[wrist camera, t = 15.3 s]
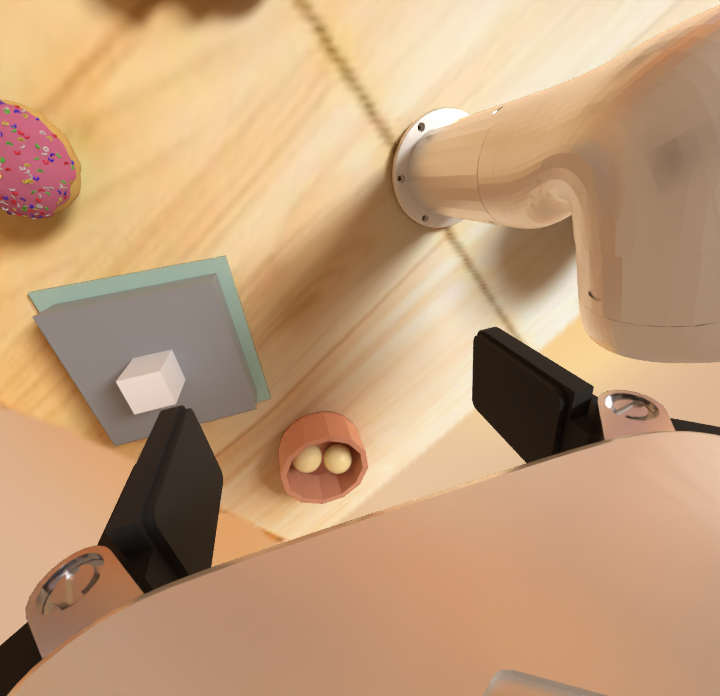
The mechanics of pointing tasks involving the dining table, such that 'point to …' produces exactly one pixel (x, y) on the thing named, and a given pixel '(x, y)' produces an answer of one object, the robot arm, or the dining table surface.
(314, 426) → the bowl
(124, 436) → the cover
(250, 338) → the mat
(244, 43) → the dining table surface
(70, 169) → the cupcake
